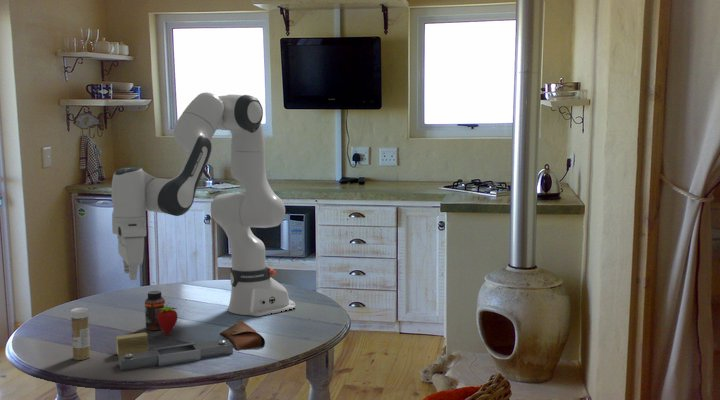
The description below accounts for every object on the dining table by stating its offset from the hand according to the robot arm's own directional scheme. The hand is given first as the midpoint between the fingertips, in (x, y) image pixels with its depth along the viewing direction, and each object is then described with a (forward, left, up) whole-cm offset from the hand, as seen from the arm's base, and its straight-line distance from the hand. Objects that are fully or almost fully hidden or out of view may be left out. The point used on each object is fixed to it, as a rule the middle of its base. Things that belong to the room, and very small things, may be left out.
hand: (130, 276), depth 198 cm
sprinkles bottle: (+13, 0, -21) cm, 25 cm away
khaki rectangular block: (0, +2, -21) cm, 21 cm away
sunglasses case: (-30, +4, -22) cm, 37 cm away
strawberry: (-12, -10, -21) cm, 26 cm away
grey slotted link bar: (-10, +12, -21) cm, 26 cm away
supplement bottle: (-10, -18, -21) cm, 29 cm away
